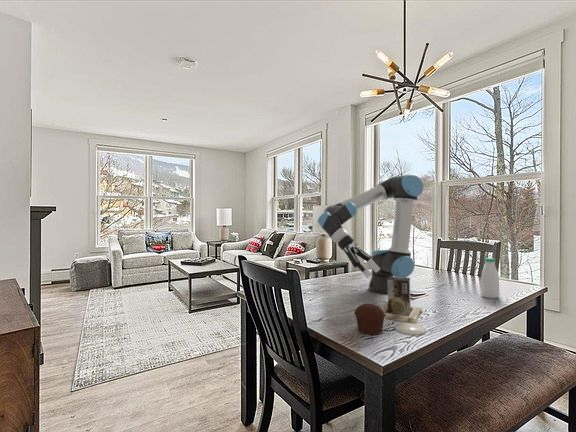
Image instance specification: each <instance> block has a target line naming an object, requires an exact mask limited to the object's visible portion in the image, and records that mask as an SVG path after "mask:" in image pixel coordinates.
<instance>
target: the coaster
mask: <svg viewBox="0 0 576 432" xmlns="http://www.w3.org/2000/svg"><path fill="white" fill-rule="evenodd" d="M394 329H395V330H396V331H397V332H399V333H402V334H405V335H411V336H418V335H424V334H425V333H426V327H424V326H423V325H421V324H417V323H416V324H414V323H408V322H398V323H396V324H394Z"/></svg>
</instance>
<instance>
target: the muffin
mask: <svg viewBox="0 0 576 432" xmlns="http://www.w3.org/2000/svg"><path fill="white" fill-rule="evenodd" d="M353 313H354V316H355V318H356V324H357V330H358V332H359V333H361V334H362V335H365V336H370V337H373V336H379V335H380V334H382V333H383V328H384V321H385V319H384V317H385V313H384V312H383V310H382V309H381V307H380V306H378V305H377V304H373V303H363V304H360V305H358V306H357V308H355V310H354V312H353Z"/></svg>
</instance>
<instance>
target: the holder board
mask: <svg viewBox="0 0 576 432" xmlns="http://www.w3.org/2000/svg"><path fill="white" fill-rule="evenodd" d="M380 308H381V309H382V310H383V312H384V313H385V317H384V320H391V321H396V322H401V323H414V324H417V322H418V320H419V319H420V317H421V314H422V313H423V311H422V309H423V308H422V307H417V306H412V305H410V308H411V313H410V315H409V317H408V316H402V315H395V314H389V313H388V302H384V304H382V306H381V307H380Z"/></svg>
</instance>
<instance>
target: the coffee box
mask: <svg viewBox="0 0 576 432" xmlns="http://www.w3.org/2000/svg"><path fill="white" fill-rule="evenodd" d="M387 283H388V293H387V303H388V313H389V314H395V315H402V316H408V317H409V315H410V313H411V308H410V306H411V278H410V277H406V278H405V277H395V276H393V277H389V278H388V280H387Z"/></svg>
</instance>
